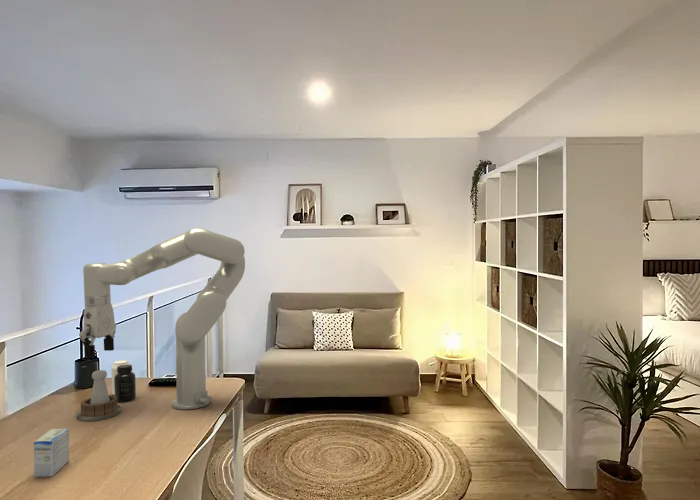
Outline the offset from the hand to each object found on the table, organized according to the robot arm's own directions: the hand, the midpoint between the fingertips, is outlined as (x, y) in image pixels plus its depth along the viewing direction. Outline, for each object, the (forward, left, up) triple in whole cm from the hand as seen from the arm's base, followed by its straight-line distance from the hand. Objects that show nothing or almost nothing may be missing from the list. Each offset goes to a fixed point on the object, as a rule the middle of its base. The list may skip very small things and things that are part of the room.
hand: (99, 353), depth 156 cm
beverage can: (+13, -16, -20) cm, 29 cm away
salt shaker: (0, 0, -19) cm, 19 cm away
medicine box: (-27, +28, -20) cm, 44 cm away
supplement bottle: (+6, -13, -20) cm, 24 cm away
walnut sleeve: (0, 0, -20) cm, 20 cm away
